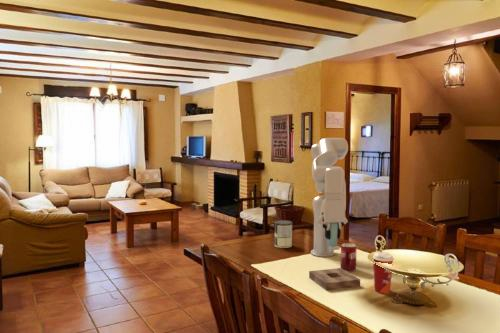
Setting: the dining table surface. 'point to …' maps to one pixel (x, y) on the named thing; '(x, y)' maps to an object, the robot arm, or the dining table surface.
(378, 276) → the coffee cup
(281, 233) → the coffee can
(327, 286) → the socket board
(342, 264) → the soda can
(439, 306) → the dining table surface
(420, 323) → the dining table surface
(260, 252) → the dining table surface
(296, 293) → the dining table surface
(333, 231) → the peg
